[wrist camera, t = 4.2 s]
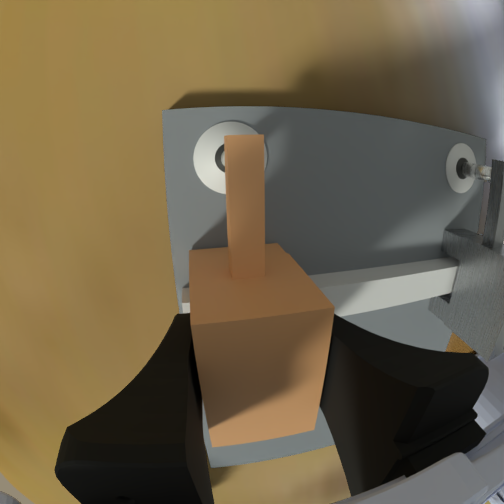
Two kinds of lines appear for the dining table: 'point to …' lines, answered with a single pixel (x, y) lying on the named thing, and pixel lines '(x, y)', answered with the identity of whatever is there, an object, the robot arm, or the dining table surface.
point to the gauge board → (331, 219)
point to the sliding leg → (255, 318)
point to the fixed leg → (478, 273)
